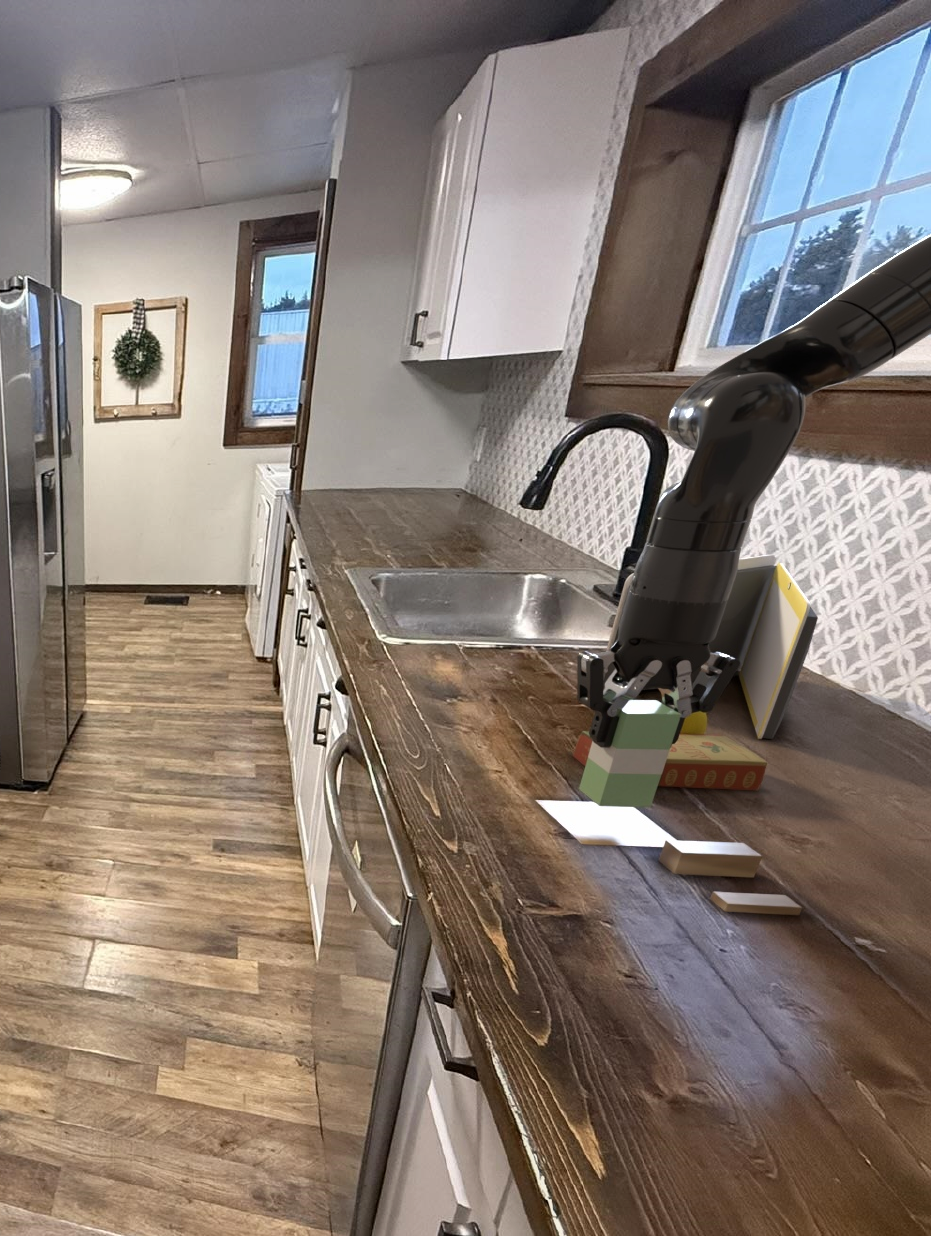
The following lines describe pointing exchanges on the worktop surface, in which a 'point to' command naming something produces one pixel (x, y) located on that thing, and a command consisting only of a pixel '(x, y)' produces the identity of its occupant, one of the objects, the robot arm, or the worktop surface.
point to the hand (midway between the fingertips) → (630, 744)
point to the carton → (701, 763)
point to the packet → (631, 756)
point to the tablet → (758, 637)
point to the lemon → (695, 724)
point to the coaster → (606, 824)
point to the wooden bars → (725, 873)
